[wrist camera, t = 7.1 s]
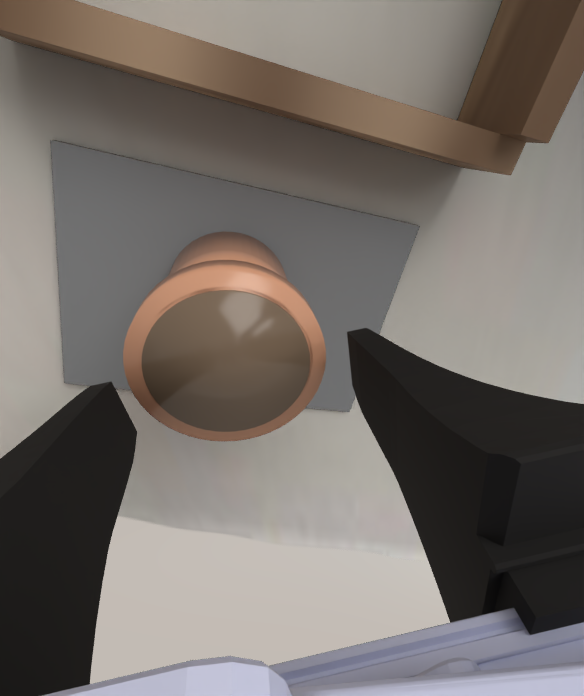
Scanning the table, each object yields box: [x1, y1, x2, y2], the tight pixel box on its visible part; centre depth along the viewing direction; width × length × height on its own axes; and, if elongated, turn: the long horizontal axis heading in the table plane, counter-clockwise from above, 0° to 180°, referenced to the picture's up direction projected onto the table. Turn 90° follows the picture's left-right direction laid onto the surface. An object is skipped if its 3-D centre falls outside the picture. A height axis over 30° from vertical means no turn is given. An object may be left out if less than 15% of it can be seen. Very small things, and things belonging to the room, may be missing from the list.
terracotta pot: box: [123, 232, 326, 441], centre depth 14 cm, size 6×6×6 cm
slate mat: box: [51, 140, 420, 412], centre depth 17 cm, size 14×10×1 cm
